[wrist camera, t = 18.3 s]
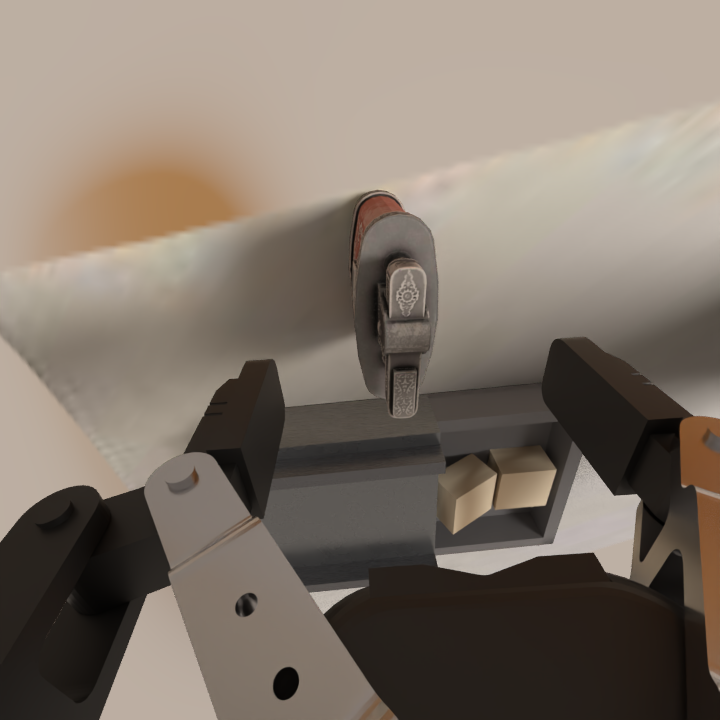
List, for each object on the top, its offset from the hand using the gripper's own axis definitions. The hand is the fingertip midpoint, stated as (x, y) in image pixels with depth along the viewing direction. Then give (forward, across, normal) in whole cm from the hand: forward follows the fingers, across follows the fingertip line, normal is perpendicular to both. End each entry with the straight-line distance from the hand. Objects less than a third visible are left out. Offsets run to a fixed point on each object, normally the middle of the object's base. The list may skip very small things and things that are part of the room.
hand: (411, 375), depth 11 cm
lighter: (+12, 0, 0) cm, 12 cm away
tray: (+12, -8, +17) cm, 23 cm away
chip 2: (+9, -10, +17) cm, 22 cm away
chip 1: (+10, -5, +18) cm, 21 cm away
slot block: (+12, +3, +17) cm, 21 cm away
